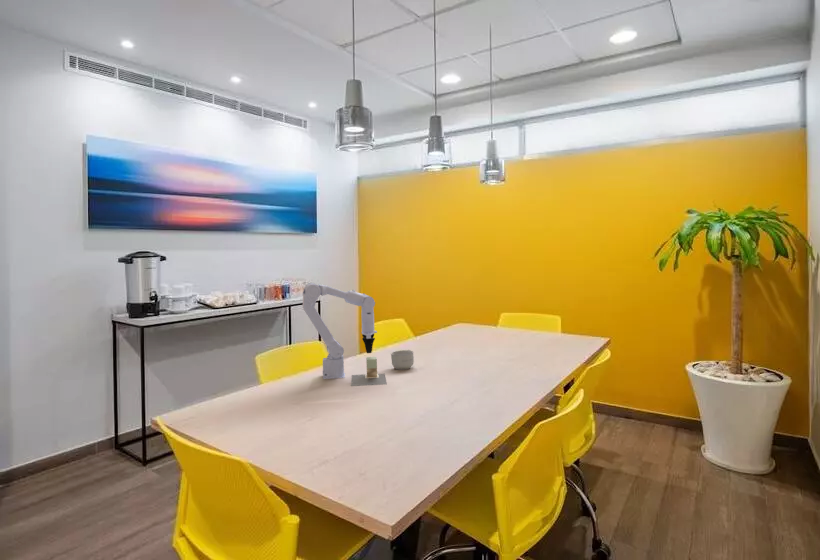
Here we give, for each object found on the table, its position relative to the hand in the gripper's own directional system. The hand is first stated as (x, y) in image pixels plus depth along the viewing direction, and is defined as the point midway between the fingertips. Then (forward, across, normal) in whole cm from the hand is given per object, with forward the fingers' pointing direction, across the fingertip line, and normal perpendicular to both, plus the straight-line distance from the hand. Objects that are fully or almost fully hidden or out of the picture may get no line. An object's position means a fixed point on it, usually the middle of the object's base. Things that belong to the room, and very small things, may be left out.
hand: (368, 351), depth 217 cm
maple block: (+10, -7, -1) cm, 12 cm away
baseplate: (+10, -12, +1) cm, 16 cm away
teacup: (+11, +7, -17) cm, 21 cm away
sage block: (+6, -6, -1) cm, 9 cm away
